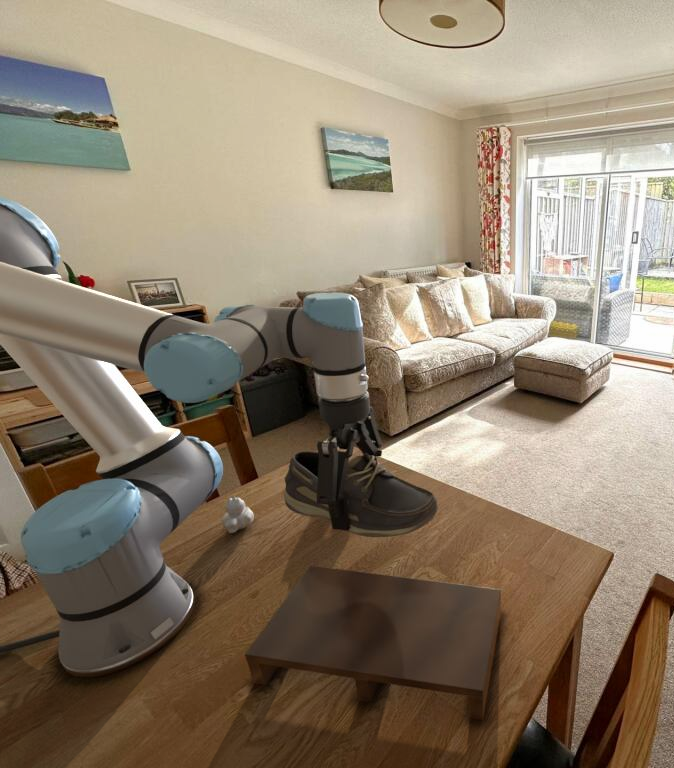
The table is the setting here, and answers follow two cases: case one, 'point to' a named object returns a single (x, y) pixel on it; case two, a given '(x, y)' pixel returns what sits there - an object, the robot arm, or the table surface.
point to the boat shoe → (362, 496)
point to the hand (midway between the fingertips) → (357, 506)
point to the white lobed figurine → (237, 515)
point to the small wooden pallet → (384, 633)
